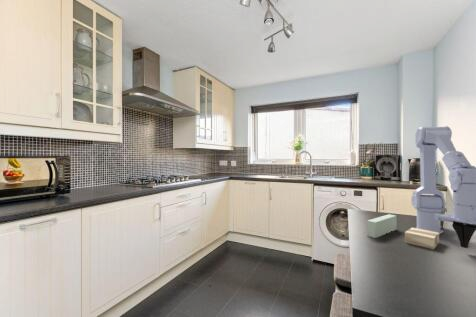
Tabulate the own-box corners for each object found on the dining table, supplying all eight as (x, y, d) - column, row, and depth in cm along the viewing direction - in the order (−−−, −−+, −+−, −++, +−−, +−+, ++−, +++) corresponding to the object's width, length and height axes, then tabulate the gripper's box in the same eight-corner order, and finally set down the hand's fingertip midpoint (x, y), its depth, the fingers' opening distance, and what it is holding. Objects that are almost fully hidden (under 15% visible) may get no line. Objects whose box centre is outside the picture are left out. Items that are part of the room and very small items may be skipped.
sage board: (388, 227, 98) (388, 214, 98) (396, 229, 96) (396, 215, 96) (366, 235, 87) (367, 220, 87) (375, 238, 84) (375, 222, 84)
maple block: (411, 237, 87) (412, 227, 87) (439, 243, 81) (439, 232, 81) (404, 243, 81) (404, 232, 81) (433, 250, 74) (433, 238, 74)
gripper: (432, 202, 75) (431, 242, 75) (497, 210, 64) (497, 258, 63) (438, 200, 80) (437, 238, 79) (500, 208, 68) (500, 252, 68)
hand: (464, 246), depth 72 cm, fingers closed
